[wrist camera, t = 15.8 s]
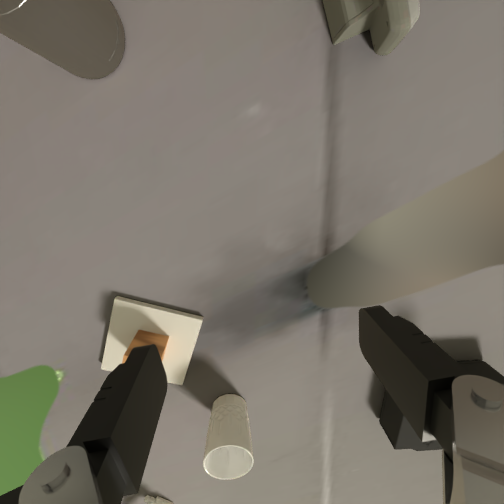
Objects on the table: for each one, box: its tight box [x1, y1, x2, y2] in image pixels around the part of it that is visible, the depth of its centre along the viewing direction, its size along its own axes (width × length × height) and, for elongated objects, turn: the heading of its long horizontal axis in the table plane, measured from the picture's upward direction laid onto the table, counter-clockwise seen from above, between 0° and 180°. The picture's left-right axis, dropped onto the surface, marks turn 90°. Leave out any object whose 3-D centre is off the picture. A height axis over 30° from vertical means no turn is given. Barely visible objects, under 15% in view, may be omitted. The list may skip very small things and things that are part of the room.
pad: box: [101, 296, 203, 385], centre depth 44 cm, size 14×14×1 cm
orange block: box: [122, 330, 169, 363], centre depth 40 cm, size 5×5×6 cm
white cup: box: [203, 394, 253, 480], centre depth 45 cm, size 8×8×10 cm
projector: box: [379, 361, 504, 451], centre depth 43 cm, size 19×17×20 cm
